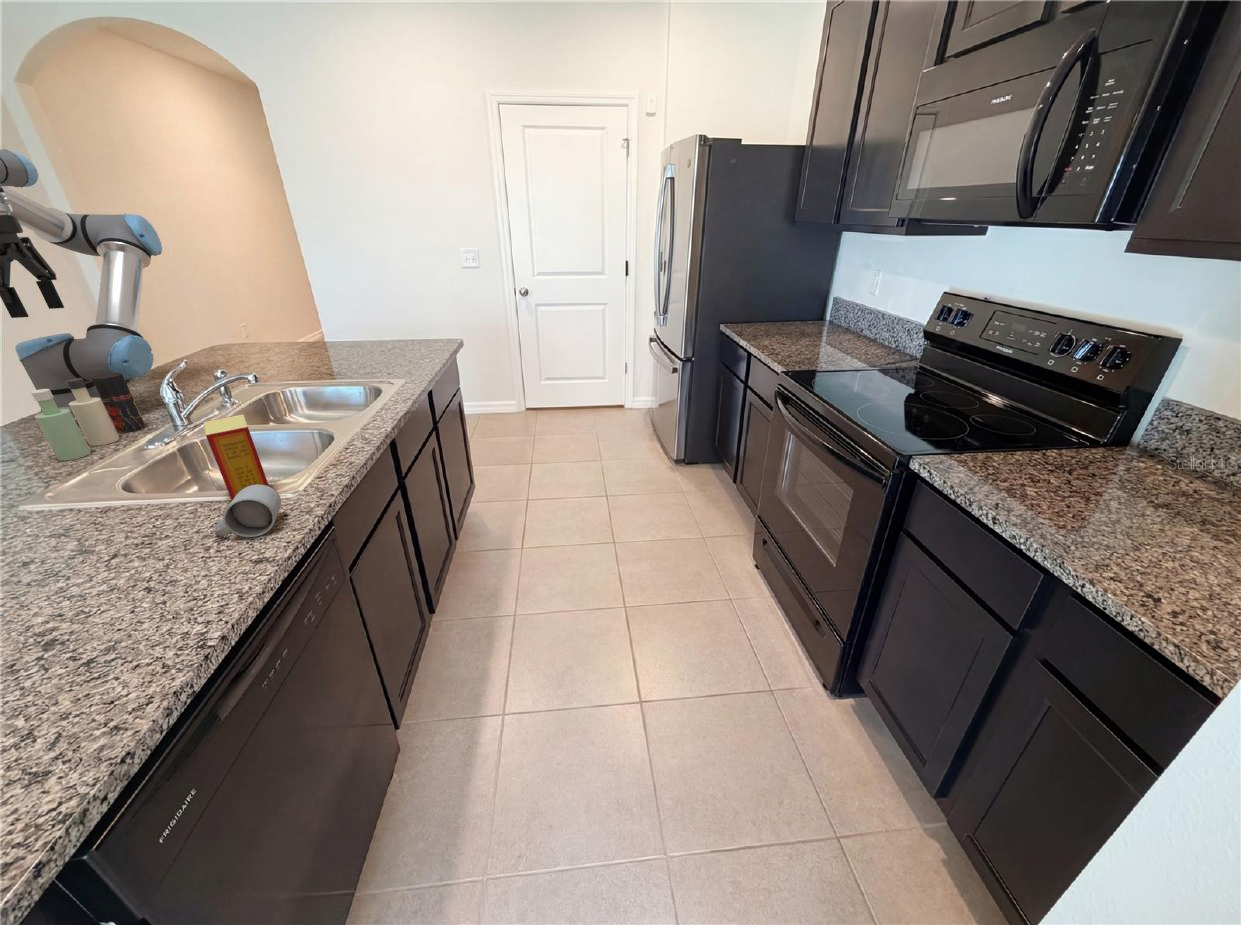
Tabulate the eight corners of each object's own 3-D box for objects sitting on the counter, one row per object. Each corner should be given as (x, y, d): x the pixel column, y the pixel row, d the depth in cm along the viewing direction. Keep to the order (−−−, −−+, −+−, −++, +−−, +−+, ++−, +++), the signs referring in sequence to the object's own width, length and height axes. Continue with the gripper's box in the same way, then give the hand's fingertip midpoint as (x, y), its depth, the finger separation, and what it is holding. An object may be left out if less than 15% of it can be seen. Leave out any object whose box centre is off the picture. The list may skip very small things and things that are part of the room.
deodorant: (149, 427, 139) (125, 374, 133) (122, 434, 135) (96, 380, 128) (140, 423, 142) (116, 371, 136) (113, 430, 138) (87, 376, 131)
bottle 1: (66, 452, 125) (32, 388, 117) (96, 449, 126) (63, 385, 119) (52, 462, 120) (15, 395, 112) (83, 458, 121) (48, 393, 114)
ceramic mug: (287, 510, 99) (274, 476, 96) (280, 532, 92) (266, 495, 89) (223, 523, 95) (207, 487, 92) (211, 546, 88) (193, 509, 85)
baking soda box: (231, 490, 107) (202, 419, 100) (267, 481, 110) (242, 412, 103) (234, 508, 100) (205, 433, 93) (273, 497, 104) (247, 425, 97)
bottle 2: (96, 438, 132) (66, 377, 125) (124, 435, 134) (95, 375, 127) (84, 447, 127) (51, 384, 120) (112, 444, 129) (82, 381, 122)
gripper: (-30, 213, 102) (24, 320, 112) (47, 214, 123) (88, 304, 133) (-81, 214, 100) (-20, 322, 109) (7, 214, 121) (51, 305, 131)
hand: (39, 312), depth 121 cm, fingers open, 13 cm apart
